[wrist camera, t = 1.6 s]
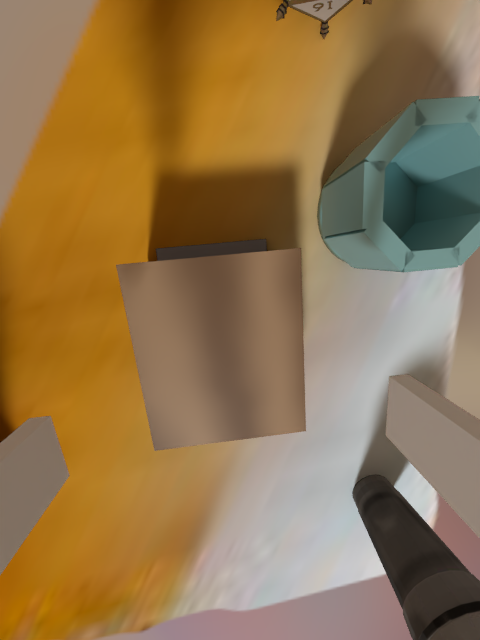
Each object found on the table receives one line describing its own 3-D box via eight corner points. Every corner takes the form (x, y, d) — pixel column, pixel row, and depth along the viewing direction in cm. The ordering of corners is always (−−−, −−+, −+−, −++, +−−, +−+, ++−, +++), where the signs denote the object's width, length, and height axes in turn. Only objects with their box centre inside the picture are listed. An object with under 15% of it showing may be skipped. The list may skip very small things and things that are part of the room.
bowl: (317, 270, 22) (361, 276, 15) (316, 154, 20) (366, 102, 13) (415, 260, 23) (499, 262, 16) (425, 147, 20) (527, 92, 14)
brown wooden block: (170, 403, 24) (154, 450, 18) (145, 262, 21) (116, 264, 15) (285, 389, 24) (305, 431, 19) (278, 250, 21) (300, 248, 15)
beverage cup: (344, 466, 28) (630, 951, 8) (406, 462, 28) (811, 909, 9) (337, 518, 30) (561, 1016, 10) (396, 513, 30) (716, 978, 11)
